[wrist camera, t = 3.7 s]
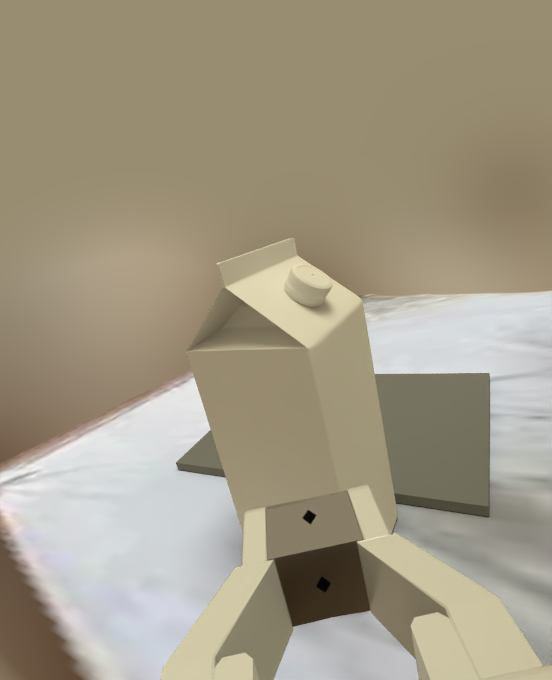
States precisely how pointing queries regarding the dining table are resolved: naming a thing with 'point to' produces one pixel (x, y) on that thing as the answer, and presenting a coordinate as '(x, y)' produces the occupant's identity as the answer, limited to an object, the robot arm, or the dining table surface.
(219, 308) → the milk carton
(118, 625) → the dining table surface
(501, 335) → the dining table surface
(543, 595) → the dining table surface
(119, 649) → the dining table surface
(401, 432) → the mat
